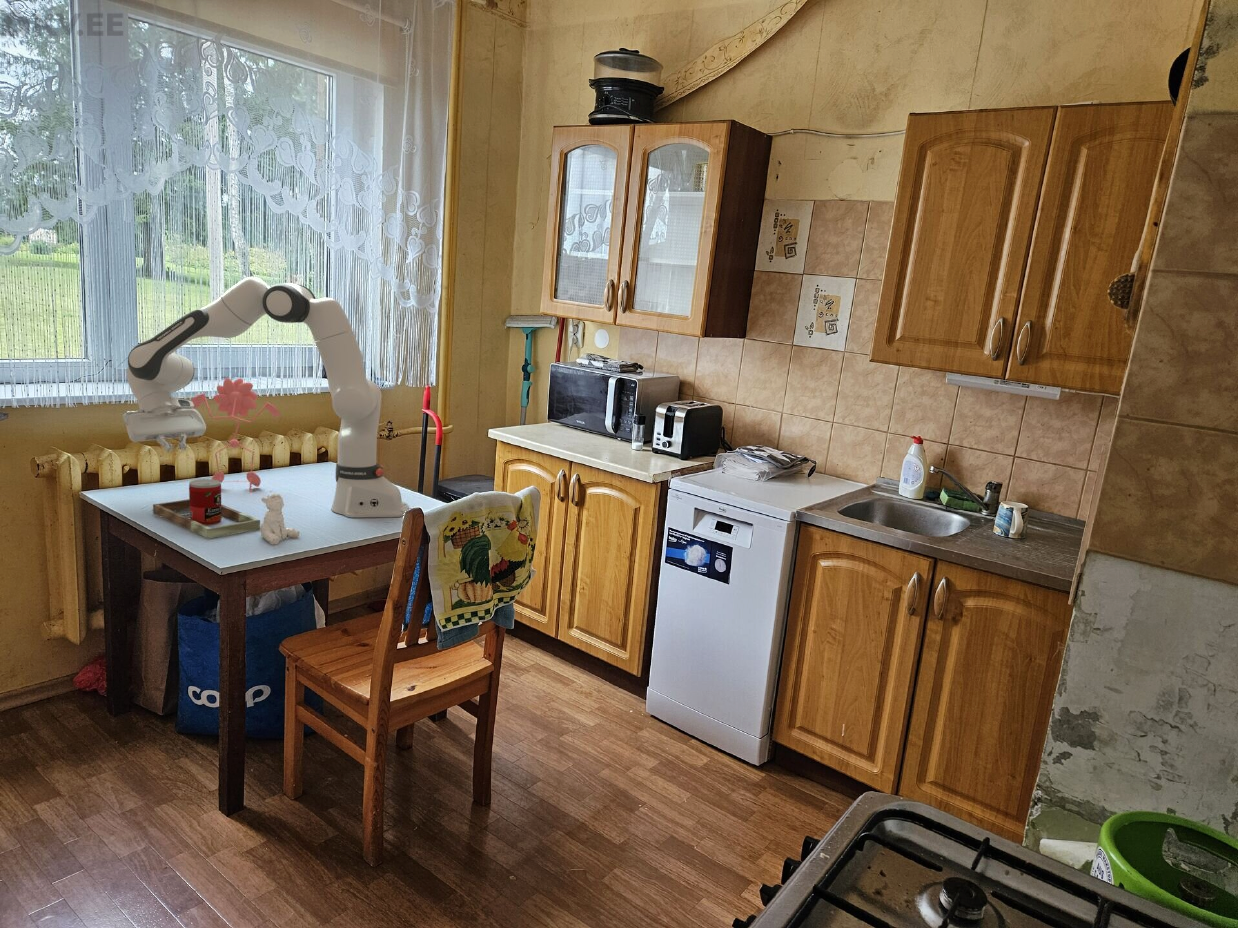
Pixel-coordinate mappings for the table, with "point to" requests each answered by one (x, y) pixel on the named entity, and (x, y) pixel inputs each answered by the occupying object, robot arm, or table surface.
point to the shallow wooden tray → (174, 516)
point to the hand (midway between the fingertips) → (176, 449)
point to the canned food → (205, 501)
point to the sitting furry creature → (275, 521)
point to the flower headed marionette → (235, 401)
